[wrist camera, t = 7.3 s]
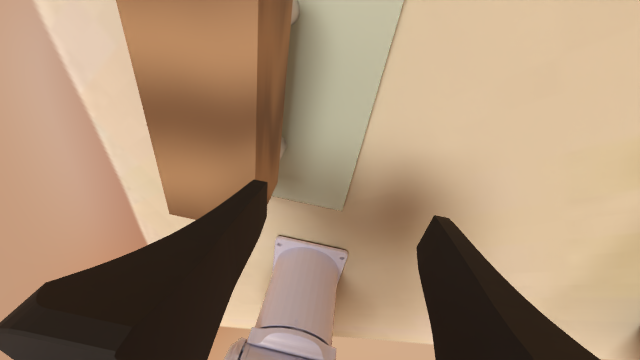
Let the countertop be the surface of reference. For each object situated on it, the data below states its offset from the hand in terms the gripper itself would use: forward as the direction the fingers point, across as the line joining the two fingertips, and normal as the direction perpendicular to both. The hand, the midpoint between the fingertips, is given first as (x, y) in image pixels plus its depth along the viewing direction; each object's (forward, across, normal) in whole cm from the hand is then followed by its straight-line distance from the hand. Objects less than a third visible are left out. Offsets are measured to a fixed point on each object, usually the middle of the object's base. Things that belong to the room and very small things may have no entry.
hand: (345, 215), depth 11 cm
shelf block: (+6, +7, -2) cm, 10 cm away
